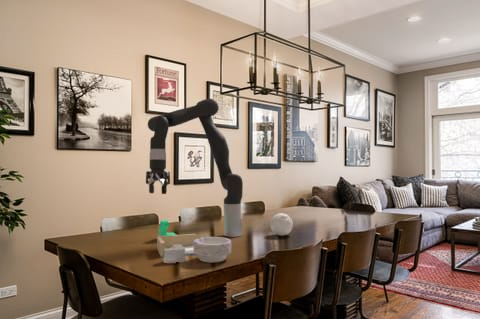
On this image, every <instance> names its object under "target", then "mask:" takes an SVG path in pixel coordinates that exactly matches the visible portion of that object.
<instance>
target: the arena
mask: <svg viewBox="0 0 480 319" xmlns="http://www.w3.org/2000/svg"><path fill="white" fill-rule="evenodd" d="M197 237H198V234H197V233H187V234H176V235H168V236H159V235H157V236H156V249H157V252H158V254H159V257H160V258H164V249H168V248H173V245H177V244H181V245H182V246H183V247H184V248H185V256H189V255H190V256H192V255H195V254H194V249H193V247H194V244H193V242H194V240H195V239H198V238H197Z"/></svg>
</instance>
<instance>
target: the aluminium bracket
mask: <svg viewBox="0 0 480 319" xmlns="http://www.w3.org/2000/svg"><path fill="white" fill-rule="evenodd" d="M176 262H179V263H185V262H186V255H185V248H184V247H183V246H182V245H181V244H177V245H173V248H168V249H164V257H163V263H167V264H177V263H176Z"/></svg>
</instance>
